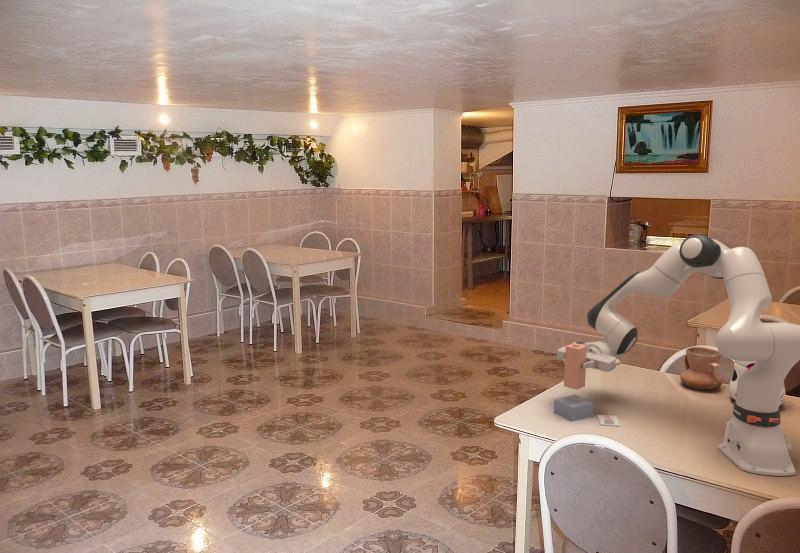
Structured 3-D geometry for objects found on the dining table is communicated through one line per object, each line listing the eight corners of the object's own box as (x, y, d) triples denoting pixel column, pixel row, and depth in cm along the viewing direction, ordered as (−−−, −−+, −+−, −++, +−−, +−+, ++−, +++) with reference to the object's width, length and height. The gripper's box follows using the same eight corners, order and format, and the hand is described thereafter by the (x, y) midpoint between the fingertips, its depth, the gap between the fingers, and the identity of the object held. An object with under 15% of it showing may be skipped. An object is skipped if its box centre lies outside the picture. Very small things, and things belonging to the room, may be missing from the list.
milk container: (771, 416, 219) (776, 365, 216) (719, 401, 232) (723, 353, 229) (791, 404, 230) (797, 354, 227) (741, 390, 243) (745, 344, 240)
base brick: (592, 417, 220) (593, 402, 219) (571, 421, 216) (572, 407, 215) (574, 408, 228) (574, 394, 227) (553, 412, 224) (554, 398, 223)
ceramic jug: (732, 393, 241) (735, 355, 239) (697, 395, 238) (700, 357, 236) (701, 378, 258) (704, 343, 256) (668, 380, 256) (671, 344, 254)
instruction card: (619, 426, 211) (619, 425, 211) (600, 425, 213) (600, 423, 212) (616, 416, 219) (616, 415, 219) (597, 415, 220) (597, 414, 220)
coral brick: (584, 386, 220) (587, 344, 217) (576, 389, 217) (579, 347, 214) (571, 382, 224) (573, 341, 221) (563, 386, 220) (565, 344, 217)
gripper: (622, 370, 221) (601, 380, 211) (569, 357, 235) (547, 366, 226) (623, 352, 219) (602, 361, 210) (570, 340, 234) (548, 348, 225)
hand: (573, 363), depth 218 cm, fingers closed on coral brick, 5 cm apart
